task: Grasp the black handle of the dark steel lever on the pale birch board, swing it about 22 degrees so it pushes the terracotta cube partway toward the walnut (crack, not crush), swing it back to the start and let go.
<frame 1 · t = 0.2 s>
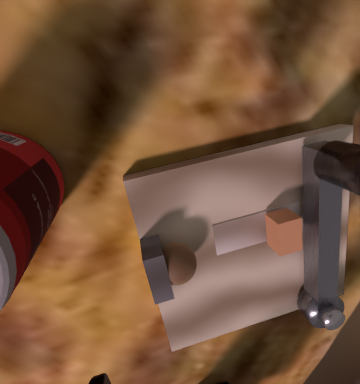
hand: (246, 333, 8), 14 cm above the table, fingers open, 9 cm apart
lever: (348, 261, 20), point 6 cm above the table, hinge at 0.0°
canned food: (9, 181, 19), on the table
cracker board: (247, 240, 25), on the table
terracotta cube: (283, 231, 22), point 3 cm above the table, slide at 0.0 cm
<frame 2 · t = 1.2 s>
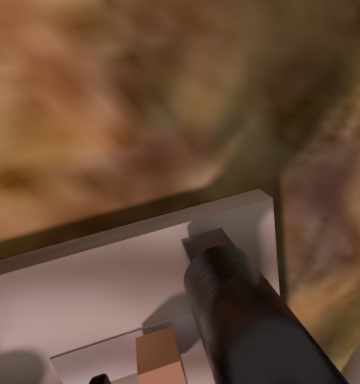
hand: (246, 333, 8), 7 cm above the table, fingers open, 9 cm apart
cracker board: (132, 355, 17), on the table
terracotta cube: (162, 368, 14), point 3 cm above the table, slide at 0.0 cm
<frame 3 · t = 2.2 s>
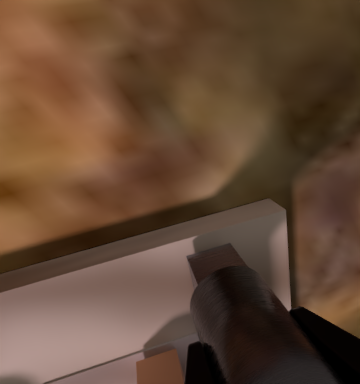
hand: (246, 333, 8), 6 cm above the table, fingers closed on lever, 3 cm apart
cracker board: (133, 375, 16), on the table
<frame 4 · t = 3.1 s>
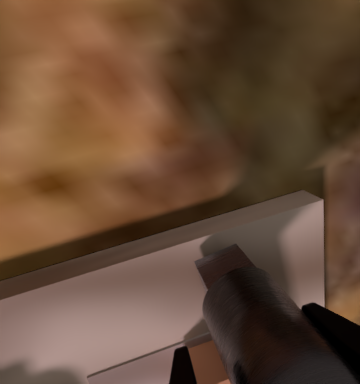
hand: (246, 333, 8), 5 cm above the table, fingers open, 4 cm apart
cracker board: (167, 369, 16), on the table
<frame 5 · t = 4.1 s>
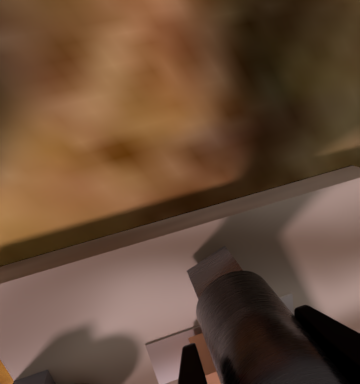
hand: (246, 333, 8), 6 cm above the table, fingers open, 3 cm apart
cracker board: (213, 344, 16), on the table
terracotta cube: (219, 370, 12), point 3 cm above the table, slide at 2.4 cm
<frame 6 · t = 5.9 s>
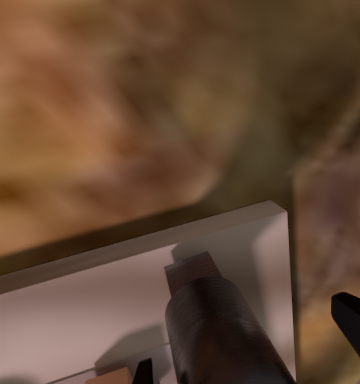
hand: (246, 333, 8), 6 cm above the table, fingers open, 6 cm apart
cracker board: (134, 376, 16), on the table
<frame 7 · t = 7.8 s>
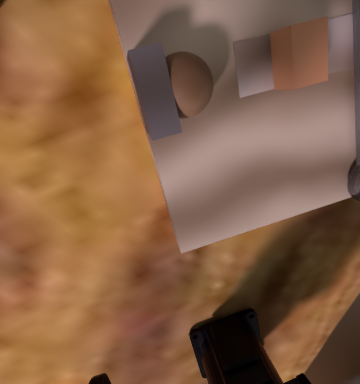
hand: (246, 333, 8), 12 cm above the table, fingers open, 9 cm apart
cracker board: (279, 92, 18), on the table
terracotta cube: (298, 56, 14), point 3 cm above the table, slide at 2.5 cm
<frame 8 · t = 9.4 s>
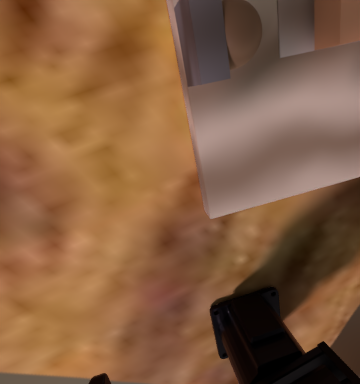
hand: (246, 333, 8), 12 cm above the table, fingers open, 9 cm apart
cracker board: (314, 59, 18), on the table
terracotta cube: (342, 14, 15), point 3 cm above the table, slide at 2.5 cm
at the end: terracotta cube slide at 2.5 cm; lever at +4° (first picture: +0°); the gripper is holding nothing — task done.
